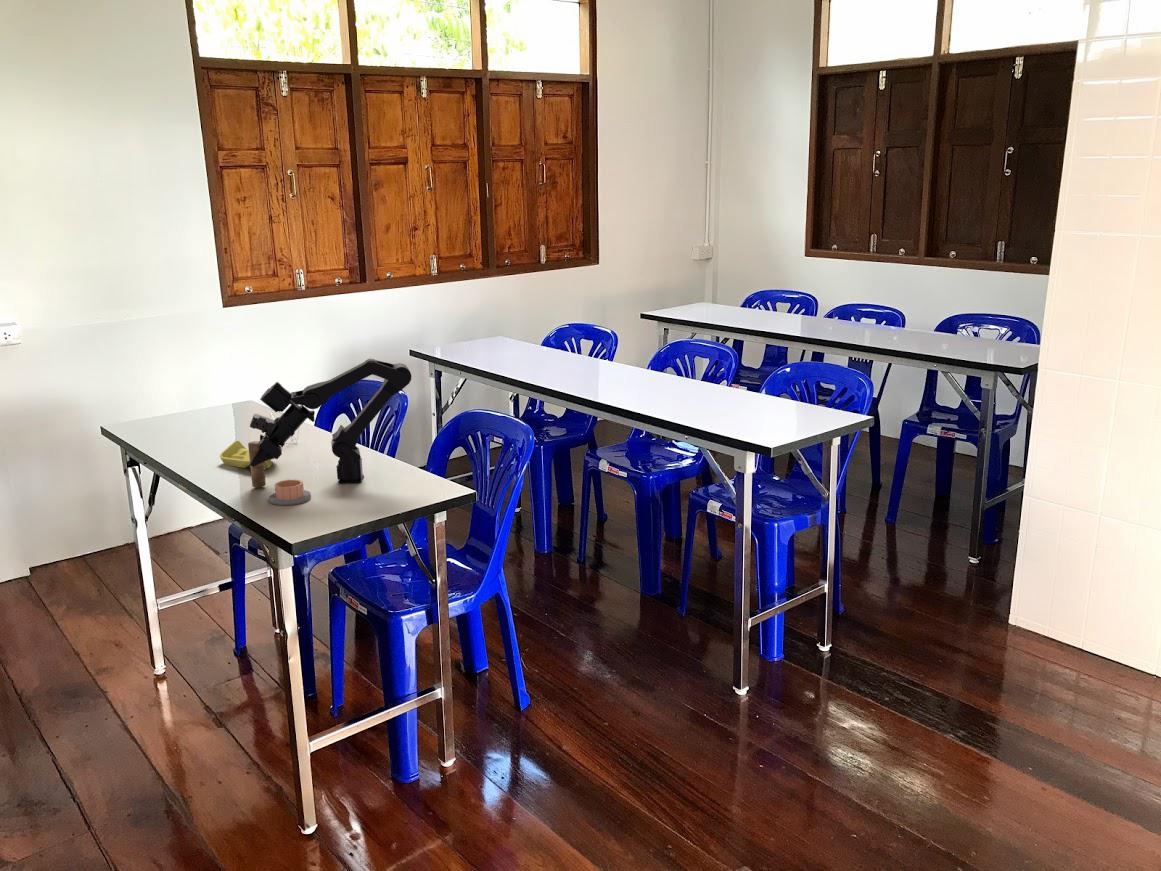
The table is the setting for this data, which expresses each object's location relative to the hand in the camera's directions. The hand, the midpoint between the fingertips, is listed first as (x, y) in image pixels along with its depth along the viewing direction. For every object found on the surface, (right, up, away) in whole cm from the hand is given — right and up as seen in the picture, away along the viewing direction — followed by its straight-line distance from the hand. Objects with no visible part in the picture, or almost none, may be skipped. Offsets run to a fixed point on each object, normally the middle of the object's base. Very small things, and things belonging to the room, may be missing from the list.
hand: (251, 463), depth 272 cm
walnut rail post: (+1, -6, +2) cm, 7 cm away
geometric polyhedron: (-6, +6, +51) cm, 52 cm away
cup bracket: (+13, -10, -8) cm, 18 cm away
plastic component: (-8, -2, +24) cm, 26 cm away
